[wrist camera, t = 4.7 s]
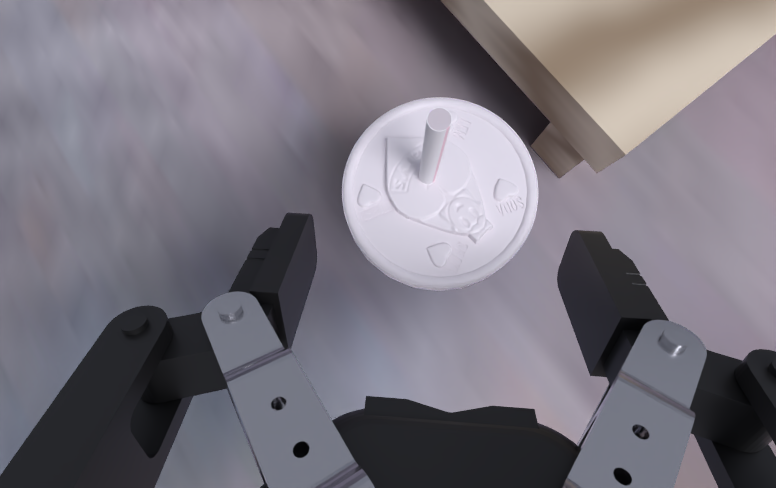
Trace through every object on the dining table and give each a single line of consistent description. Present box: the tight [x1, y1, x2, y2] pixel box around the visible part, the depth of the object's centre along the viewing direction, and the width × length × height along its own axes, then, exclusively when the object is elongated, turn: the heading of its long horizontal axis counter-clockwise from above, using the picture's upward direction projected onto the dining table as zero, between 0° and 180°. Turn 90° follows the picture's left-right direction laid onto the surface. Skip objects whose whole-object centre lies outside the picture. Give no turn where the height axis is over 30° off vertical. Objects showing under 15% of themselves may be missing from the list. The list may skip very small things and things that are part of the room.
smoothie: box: [342, 97, 538, 291], centre depth 16 cm, size 6×6×14 cm
